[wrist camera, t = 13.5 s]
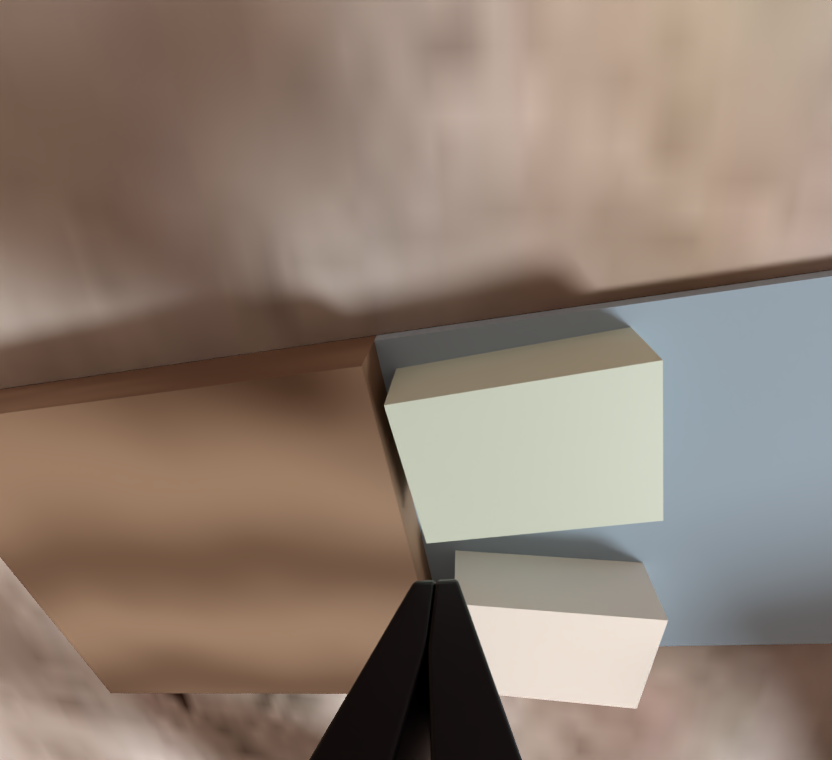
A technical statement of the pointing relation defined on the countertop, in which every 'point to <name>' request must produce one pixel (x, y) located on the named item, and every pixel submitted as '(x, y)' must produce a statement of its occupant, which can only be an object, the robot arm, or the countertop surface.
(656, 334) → the slate mat
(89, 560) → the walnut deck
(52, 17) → the countertop surface
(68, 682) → the countertop surface
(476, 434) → the sage green cuboid
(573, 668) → the cream rectangular block
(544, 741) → the countertop surface
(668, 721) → the countertop surface
